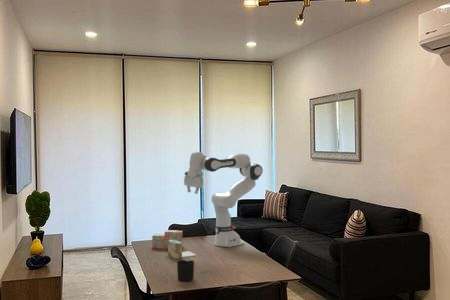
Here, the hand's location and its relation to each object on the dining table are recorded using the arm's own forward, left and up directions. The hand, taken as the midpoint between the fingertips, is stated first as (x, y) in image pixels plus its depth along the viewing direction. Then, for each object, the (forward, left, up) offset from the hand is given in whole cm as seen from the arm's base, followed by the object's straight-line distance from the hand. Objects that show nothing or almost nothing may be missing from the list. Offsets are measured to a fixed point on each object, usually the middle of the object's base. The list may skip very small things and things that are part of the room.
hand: (192, 193), depth 313 cm
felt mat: (+11, +14, -40) cm, 44 cm away
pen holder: (+33, +64, -41) cm, 83 cm away
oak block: (+19, +14, -40) cm, 47 cm away
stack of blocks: (+14, -12, -41) cm, 45 cm away
